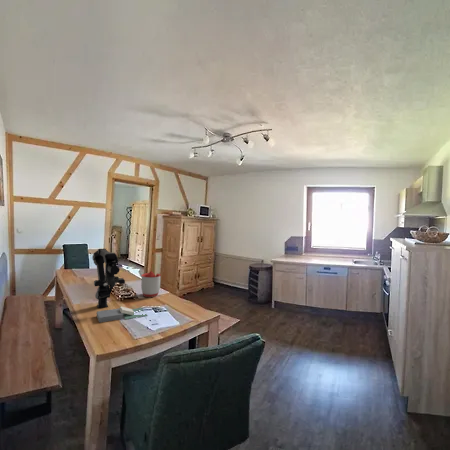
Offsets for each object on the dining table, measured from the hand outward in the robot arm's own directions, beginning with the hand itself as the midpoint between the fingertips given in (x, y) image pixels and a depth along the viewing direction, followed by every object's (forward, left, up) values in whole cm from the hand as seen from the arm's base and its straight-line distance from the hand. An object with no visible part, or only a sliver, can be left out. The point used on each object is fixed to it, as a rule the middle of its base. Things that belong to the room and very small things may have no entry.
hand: (109, 294), depth 185 cm
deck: (+10, -1, -12) cm, 16 cm away
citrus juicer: (-27, +37, -12) cm, 47 cm away
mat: (+10, +14, -12) cm, 21 cm away
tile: (+10, +9, -10) cm, 17 cm away
